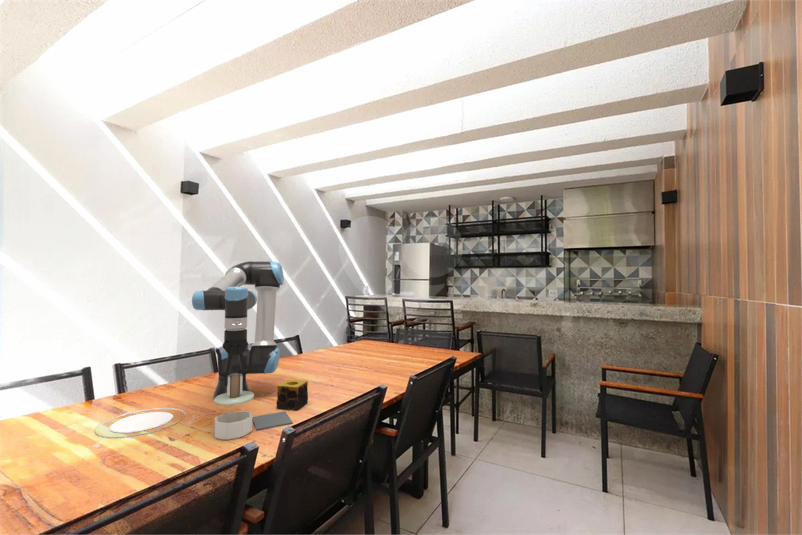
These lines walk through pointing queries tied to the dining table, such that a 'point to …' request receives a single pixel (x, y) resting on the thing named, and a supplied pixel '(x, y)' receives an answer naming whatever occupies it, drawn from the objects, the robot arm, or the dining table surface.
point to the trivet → (271, 420)
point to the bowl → (232, 425)
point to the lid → (234, 393)
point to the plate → (141, 422)
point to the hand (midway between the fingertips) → (234, 393)
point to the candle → (292, 395)
